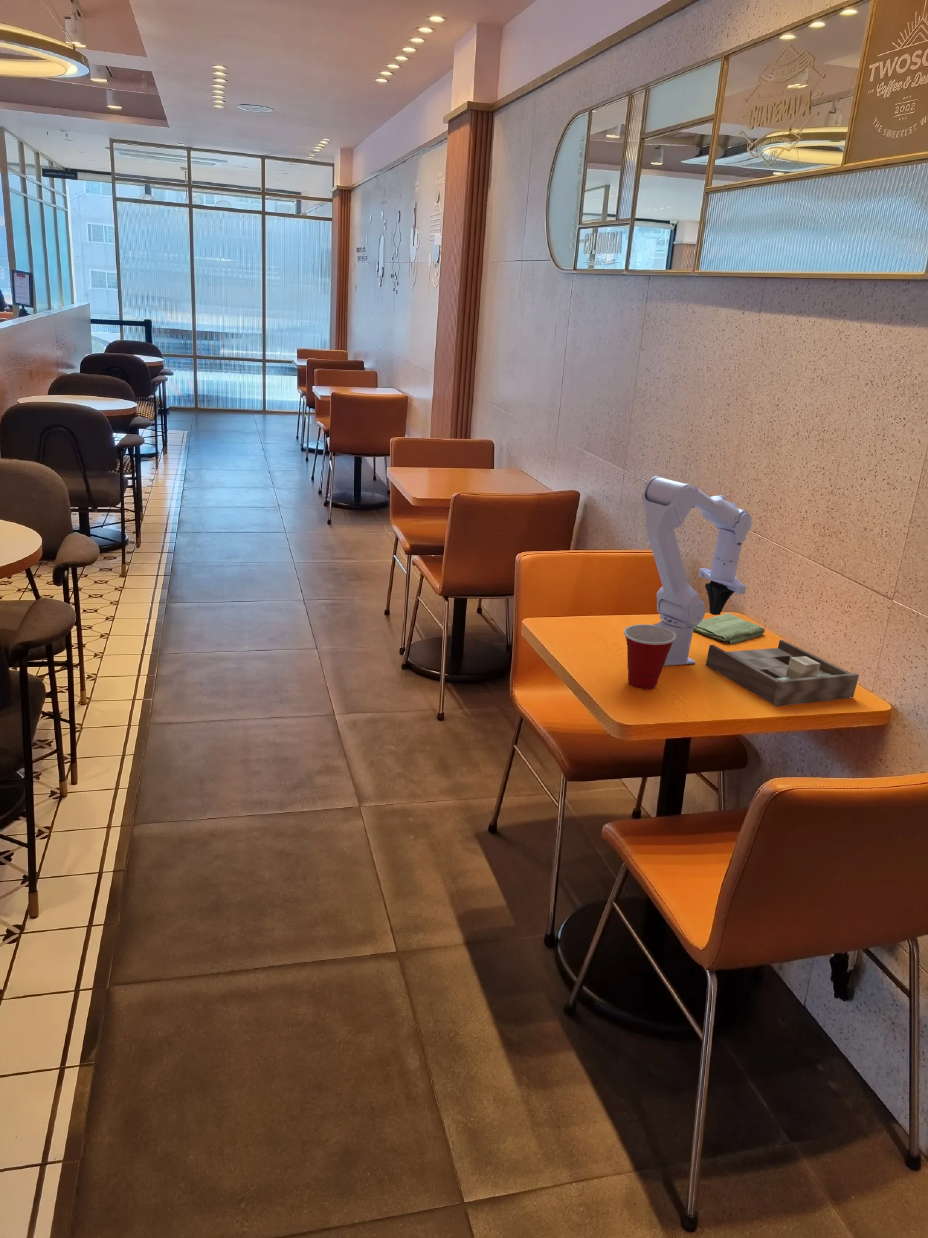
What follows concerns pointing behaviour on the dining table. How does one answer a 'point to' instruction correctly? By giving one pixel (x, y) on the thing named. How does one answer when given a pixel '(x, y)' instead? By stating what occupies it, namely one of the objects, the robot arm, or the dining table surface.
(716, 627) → the washcloth
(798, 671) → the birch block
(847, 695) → the trap box
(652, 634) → the plastic cup
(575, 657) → the dining table surface
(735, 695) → the dining table surface
